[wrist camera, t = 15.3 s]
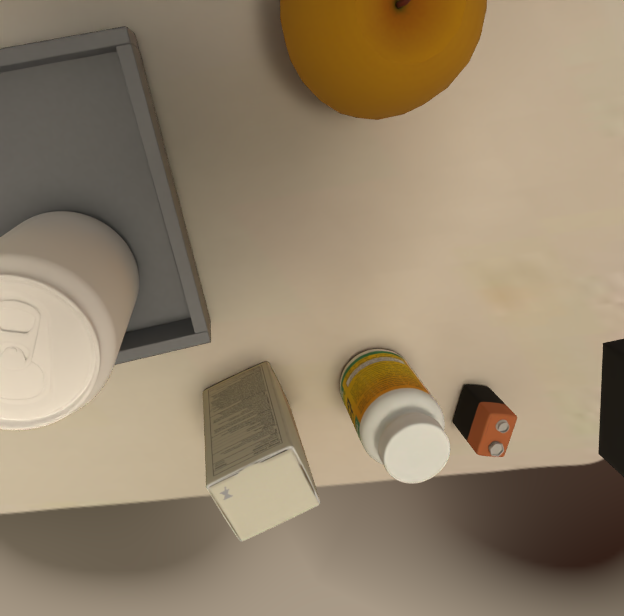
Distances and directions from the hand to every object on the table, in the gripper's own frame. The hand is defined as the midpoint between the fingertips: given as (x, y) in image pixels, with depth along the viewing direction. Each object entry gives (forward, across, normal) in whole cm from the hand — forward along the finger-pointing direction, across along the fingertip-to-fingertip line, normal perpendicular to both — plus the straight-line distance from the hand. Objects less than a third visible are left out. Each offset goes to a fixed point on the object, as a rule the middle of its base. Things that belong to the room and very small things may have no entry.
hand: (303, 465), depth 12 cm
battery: (+27, +14, -17) cm, 35 cm away
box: (+27, -2, -13) cm, 30 cm away
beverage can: (+26, -11, -2) cm, 29 cm away
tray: (+27, -11, +2) cm, 29 cm away
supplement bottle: (+27, +7, -14) cm, 31 cm away
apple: (+27, +8, +9) cm, 30 cm away
